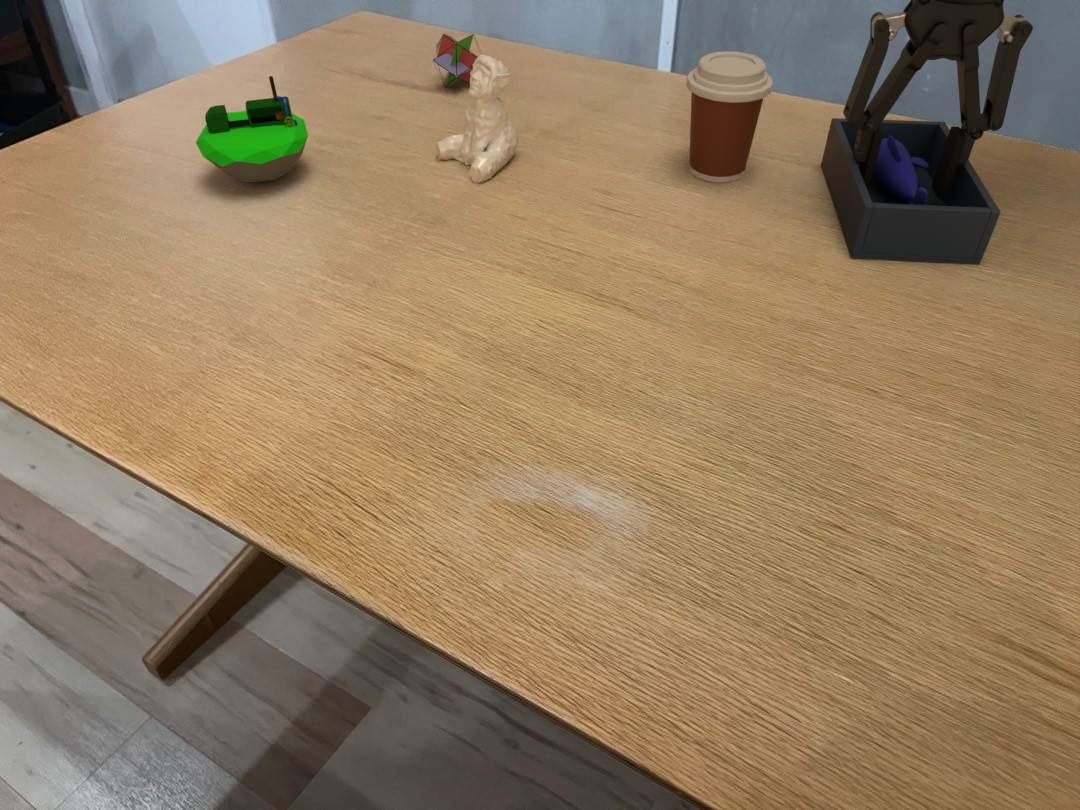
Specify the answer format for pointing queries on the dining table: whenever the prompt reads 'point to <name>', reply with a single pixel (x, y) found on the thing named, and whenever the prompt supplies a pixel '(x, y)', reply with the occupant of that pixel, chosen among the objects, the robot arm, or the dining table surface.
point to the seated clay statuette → (484, 123)
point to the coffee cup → (725, 113)
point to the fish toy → (899, 172)
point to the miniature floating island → (254, 139)
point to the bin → (903, 229)
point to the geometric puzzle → (455, 58)
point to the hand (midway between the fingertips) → (899, 190)
